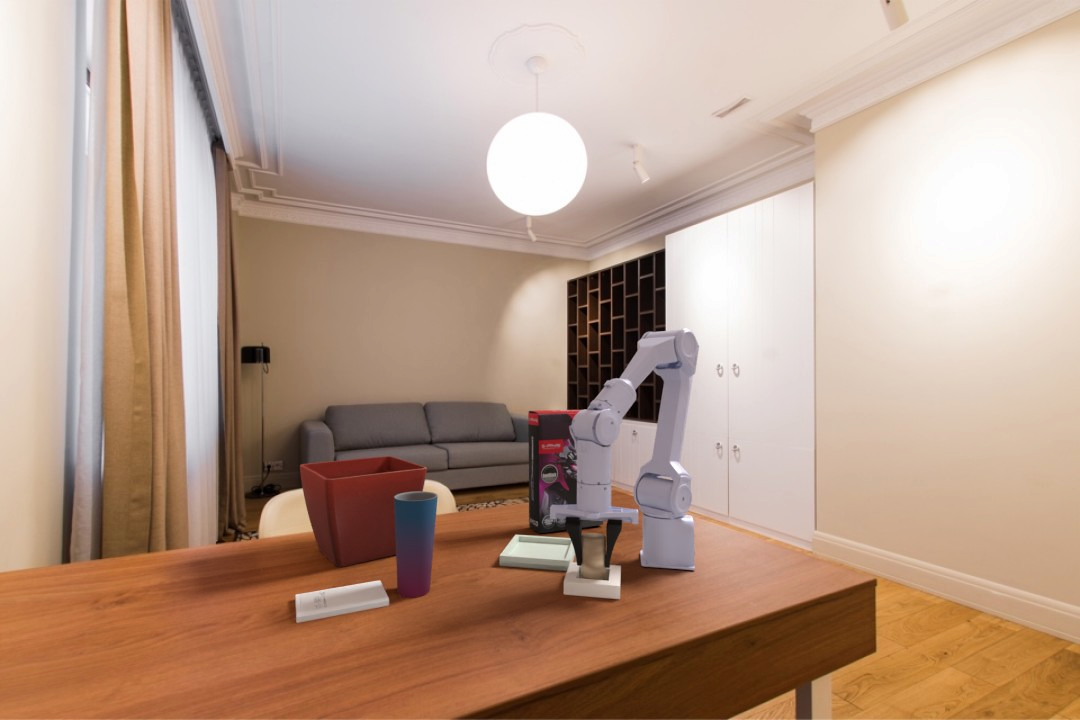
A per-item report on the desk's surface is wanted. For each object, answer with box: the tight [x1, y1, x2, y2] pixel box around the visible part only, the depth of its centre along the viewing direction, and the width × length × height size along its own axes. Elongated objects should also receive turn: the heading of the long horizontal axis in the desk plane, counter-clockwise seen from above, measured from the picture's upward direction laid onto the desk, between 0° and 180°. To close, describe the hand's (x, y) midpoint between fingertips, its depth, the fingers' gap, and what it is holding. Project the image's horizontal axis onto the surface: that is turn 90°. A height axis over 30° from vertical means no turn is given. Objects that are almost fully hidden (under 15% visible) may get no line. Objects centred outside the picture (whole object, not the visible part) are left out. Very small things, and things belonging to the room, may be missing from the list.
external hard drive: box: [294, 579, 390, 624], centre depth 74 cm, size 2×8×12 cm
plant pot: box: [299, 455, 428, 568], centre depth 97 cm, size 19×19×17 cm
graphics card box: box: [527, 409, 604, 534], centre depth 116 cm, size 17×7×27 cm, turn 115°
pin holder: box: [563, 561, 622, 600], centre depth 81 cm, size 9×9×2 cm
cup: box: [394, 490, 439, 599], centre depth 79 cm, size 7×7×15 cm
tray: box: [498, 534, 576, 572], centre depth 95 cm, size 13×13×2 cm
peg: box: [581, 532, 606, 580], centre depth 81 cm, size 4×4×8 cm
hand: (593, 564), depth 81 cm, fingers closed on peg, 4 cm apart
